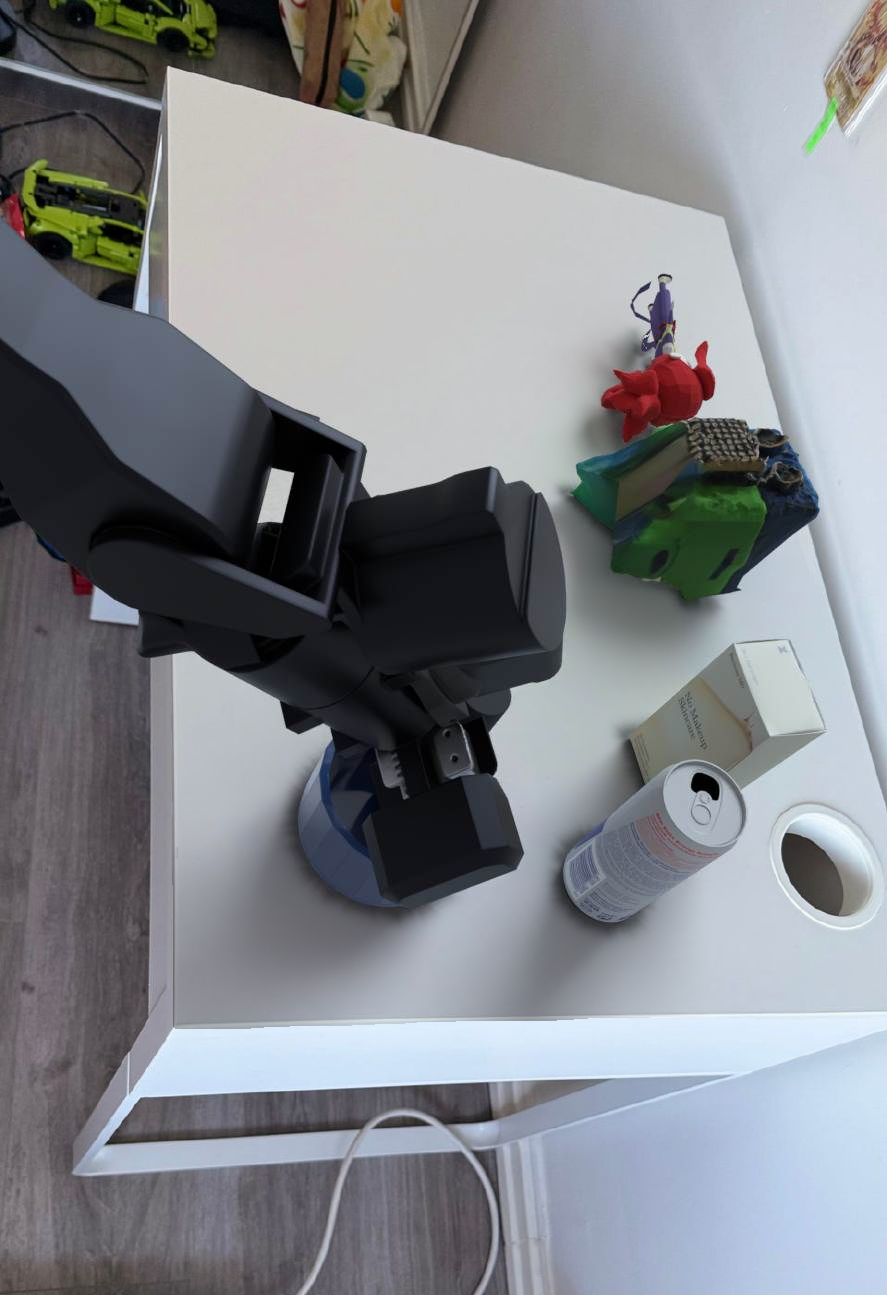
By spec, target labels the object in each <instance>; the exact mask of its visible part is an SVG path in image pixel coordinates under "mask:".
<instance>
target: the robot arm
mask: <svg viewBox="0 0 887 1295" xmlns="http://www.w3.org/2000/svg"><path fill="white" fill-rule="evenodd" d="M367 453H368V448H367V446H366V445H365V444H364V442H362V441H360V440H358V439H356V438H354V437H352V436H350V435H348V434H346V433H344V432H342V431H340V430H339V429H336V428H334V427H333V426H331V425H328V424H326V423H324V422H322V421H321V417H319V416H317V415H315V414H312V413H308V412H306V411H303V410H299V409H297V408H294V407H292V406H290V405H289V404H286V403H284V402H282V401H281V400H278V399H276V398H274V397H272V396H270V395H268V394H266V393H264V392H262V391H260V390H258V389H256V388H254V387H252V386H251V385H250V384H249V383H247V381H245V380H244V379H243V378H242V377H240V376H239V375H238V374H236V373H235V371H233V370H231V368H229V367H228V366H227V365H226V364H224V363H222V362H221V361H220V360H219V359H217V358H216V357H215V356H214V355H213V354H211V353H210V352H208V351H207V350H205V349H204V348H203V347H202V346H201V345H199V344H198V343H197V342H195V341H194V340H193V339H191V338H190V337H189V336H187V335H186V334H185V333H183V332H182V331H181V330H180V329H178V327H176V326H175V325H173V324H172V323H170V322H169V321H167V320H166V319H164V318H162V317H161V316H160V317H159V316H157V315H153V314H150V313H147V312H143V311H139V310H137V309H132V308H129V307H126V306H125V307H124V306H121V305H118V304H114V303H111V302H106V301H103V300H100V299H96V298H94V297H93V296H92V295H90V294H89V293H87V292H86V291H85V290H84V289H82V288H81V287H79V286H78V285H77V284H76V283H75V282H73V281H72V280H71V279H69V278H68V277H66V275H64V274H62V273H61V272H60V271H59V270H58V269H56V268H55V267H54V266H53V265H52V263H50V262H49V261H48V260H47V259H46V258H45V257H44V256H43V255H42V254H41V253H40V252H39V251H38V250H36V249H35V247H33V246H32V245H31V244H30V243H29V242H28V241H27V240H26V239H25V238H24V237H23V236H22V235H21V234H20V233H19V232H18V231H16V229H15V228H14V227H12V226H11V224H9V223H8V222H7V221H6V220H5V219H4V218H3V217H2V216H1V215H0V482H1V484H2V486H3V489H4V491H5V492H6V496H8V498H9V501H10V502H11V505H12V506H13V508H14V510H15V512H16V514H17V515H18V516H19V518H20V519H21V520H22V521H23V522H24V523H25V524H26V525H27V526H28V527H29V528H30V529H31V530H33V532H35V533H36V534H37V535H38V536H39V537H40V538H41V539H42V540H43V541H44V542H45V543H46V544H48V545H49V547H51V548H52V549H53V550H54V551H55V552H56V553H58V555H60V556H61V558H63V559H64V560H65V561H66V562H67V563H68V564H69V565H70V566H72V568H73V569H74V570H76V572H78V573H79V574H80V575H81V576H82V577H83V578H84V579H86V580H87V581H88V582H90V583H91V584H92V585H94V587H96V588H97V589H98V590H100V591H101V592H103V593H104V594H106V595H107V596H109V597H110V598H111V599H112V600H114V601H116V602H118V603H120V604H123V605H124V606H126V607H128V608H131V609H134V610H137V614H138V621H137V622H138V623H137V636H136V638H137V639H136V650H135V651H136V653H137V654H138V655H139V657H142V658H144V659H145V658H146V659H153V658H161V657H165V656H172V655H176V654H183V653H190V652H192V653H195V654H196V655H197V656H199V657H200V658H201V659H203V660H204V661H206V662H207V663H209V664H210V665H212V666H215V667H216V668H218V669H220V670H222V671H224V672H226V673H227V674H230V675H231V676H234V677H235V678H237V679H239V680H241V681H243V682H245V683H247V684H249V685H251V686H252V687H254V688H255V689H258V690H259V691H262V692H263V693H265V694H267V695H269V696H270V697H272V698H274V699H276V700H278V701H279V704H280V710H281V713H282V714H281V715H282V718H283V723H284V726H285V729H286V730H289V731H290V732H293V733H294V734H297V735H302V734H303V733H307V732H308V731H310V730H313V729H315V728H316V727H319V726H322V725H325V726H326V727H329V730H330V734H331V738H332V739H333V742H334V746H335V750H336V753H337V754H339V755H341V756H343V757H345V758H347V759H348V758H350V757H352V756H355V755H357V754H359V753H361V752H364V751H366V750H368V749H371V748H375V752H376V756H377V760H378V761H377V762H375V763H373V764H370V770H371V774H372V778H373V781H374V785H375V789H376V793H377V797H378V801H379V805H380V808H381V809H380V810H377V811H375V812H373V813H370V815H369V816H368V817H367V819H366V820H365V822H364V823H363V825H362V826H363V830H364V834H365V838H366V842H367V846H368V850H369V854H370V858H371V862H372V866H373V870H374V874H375V878H376V882H377V885H378V889H379V893H380V896H381V897H383V898H385V899H387V900H389V901H391V902H393V903H394V904H396V905H400V906H399V907H403V908H407V909H411V910H415V909H417V908H420V907H423V906H425V905H428V904H431V903H433V902H436V901H438V900H441V899H443V898H446V897H449V896H451V895H454V894H456V893H460V892H462V891H465V890H468V889H470V888H473V887H475V886H478V885H480V884H483V883H486V882H489V881H491V880H493V879H496V878H498V877H499V878H500V877H502V876H504V875H507V874H510V873H512V872H514V871H517V870H518V868H519V865H520V864H521V862H522V859H523V857H524V855H525V850H524V847H523V844H522V841H521V837H520V834H519V831H518V827H517V824H516V821H515V818H514V815H513V811H512V808H511V805H510V801H509V798H508V797H507V795H506V793H505V790H504V789H503V788H502V786H501V784H500V782H499V781H498V779H497V778H496V777H494V775H496V773H497V771H498V765H499V763H498V759H497V756H496V755H497V754H496V751H495V748H494V746H493V742H492V739H491V736H490V732H488V729H487V726H486V722H485V719H484V716H481V717H479V718H476V719H474V720H472V721H469V722H467V723H465V724H462V725H461V724H460V723H459V722H458V721H460V720H462V719H464V718H467V717H469V713H468V709H467V706H466V703H465V701H466V700H469V699H471V698H473V697H481V696H485V695H489V694H492V693H496V692H499V691H503V690H507V689H510V690H511V689H513V688H517V687H521V686H524V685H528V684H538V683H542V682H546V681H548V680H550V679H552V678H553V677H555V676H556V675H557V674H558V673H559V671H560V669H561V668H562V665H563V650H564V649H563V648H564V633H565V628H566V624H567V623H566V622H567V621H566V620H567V584H566V573H565V566H564V558H563V552H562V548H561V543H560V539H559V535H558V531H557V528H556V524H555V521H554V518H553V514H552V512H551V509H550V507H549V504H548V503H547V500H546V498H545V496H544V494H543V492H542V491H539V492H535V490H534V489H533V488H532V487H531V485H530V484H529V483H527V482H525V481H524V480H522V479H521V480H516V481H511V482H507V483H506V482H505V479H504V478H503V476H502V473H501V472H500V469H498V468H496V467H494V466H491V465H488V466H484V467H479V468H475V469H471V470H466V471H462V472H459V473H455V474H453V475H451V476H448V477H446V478H445V479H442V480H440V481H437V482H433V483H430V484H425V485H421V486H417V487H412V488H407V489H403V490H398V491H394V492H389V493H386V494H385V493H384V494H376V495H373V496H371V495H370V493H369V492H368V490H367V489H366V487H365V486H364V484H363V482H362V477H363V472H364V467H365V463H366V458H367ZM272 469H274V470H279V471H284V472H289V473H292V474H293V475H292V481H291V483H290V484H291V485H290V489H289V492H288V497H287V501H286V505H285V510H284V514H283V518H282V522H280V521H279V522H278V521H265V522H259V519H260V516H261V512H262V508H263V504H264V500H265V497H266V492H267V488H268V484H269V480H270V476H271V472H272ZM395 751H396V752H395Z"/></svg>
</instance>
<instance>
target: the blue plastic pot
mask: <svg viewBox="0 0 887 1295" xmlns="http://www.w3.org/2000/svg"><path fill="white" fill-rule="evenodd" d="M395 752H396V751H395ZM377 761H378V760H377V756H376V752H375V748H371V749H368V750H366V751H364V752H361V753H359V754H357V755H355V756H352V757H350V758H348V759H347V758H345V757H343V756H341V755H339V754H337V753H336V750H335V746H334V742H333V738H332V739H331V740H330V742H329V743H328V744H327V746H326V747H325V749H324V751H323V753H322V754H321V757H320V759H319V760H318V762H317V764H316V766H315V767H314V769H313V772H312V774H311V775H310V776H309V777H310V778H309V779H308V780H307V783H306V785H305V786H304V790H303V793H302V796H301V799H300V801H299V806H298V811H297V829H298V837H299V840H300V844H301V847H302V850H303V852H304V854H305V857H306V858H307V860H308V862H309V864H310V865H311V867H312V868H313V869H314V871H315V872H316V873H317V875H318V876H319V877H320V878H321V879H322V881H324V882H325V883H326V884H327V885H329V886H330V887H331V889H333V890H334V891H337V892H338V893H339V894H340V895H342V896H345V897H347V898H348V899H350V900H352V901H354V902H358V903H360V904H363V905H367V906H372V907H381V908H396V907H401V906H400V905H396V904H394V903H393V902H391V901H389V900H387V899H385V898H383V897H381V896H380V893H379V889H378V885H377V882H376V878H375V874H374V870H373V866H372V862H371V858H370V854H369V850H368V846H367V842H366V838H365V834H364V830H363V826H362V825H363V823H364V822H365V820H366V819H367V817H368V816H369V815H370V813H373V812H375V811H377V810H380V809H381V808H380V805H379V801H378V797H377V793H376V789H375V785H374V781H373V778H372V774H371V770H370V764H373V763H375V762H377Z"/></svg>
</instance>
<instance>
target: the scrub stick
mask: <svg viewBox="0 0 887 1295" xmlns="http://www.w3.org/2000/svg"><path fill="white" fill-rule="evenodd" d="M465 703H466V706H467V709H468V713H469V717H467V718H464V719H462V720H460V721H458V722H459V723H460V724H461V725H462V724H465V723H467V722H469V721H472V720H474V719H476V718H479V717H481V716H484V719H485V722H486V726H487V729H488V732H489V733H490V732H491V731H492V729H493V728H494V727H495V726H496V725H497V723H498V722H499V721H500V720H501V719H502V717H503V716H504V715H505V713H506V712H507V711H508V709H509V708H510V706H511V704H512V691H511V688H510V689H507V690H503V691H499V692H496V693H492V694H489V695H485V696H481V697H473V698H471V699H469V700H466V701H465Z"/></svg>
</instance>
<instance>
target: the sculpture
mask: <svg viewBox="0 0 887 1295" xmlns="http://www.w3.org/2000/svg"><path fill="white" fill-rule="evenodd" d="M789 439H790V436H789V435H787V434H782V432H781V431H780V430H778V429H776V428H762V427H757V428H750V427H749V424H748V420H745V419H741V418H739V419H736V418H734V417H729V418H727V417H724V418H722V417H717V418H715V417H705V418H703V417H696V416H694V417H693V418H691V419H688V420H684V419H683V420H681V421H679V422H677V423H675V424H670V425H668V426H660V427H658V428H655V429H654V430H652V432H651V433H649V434H648V435H647V436H646V437H644V438H641V439H639V440H637V441H636V442H633V443H631V444H629V445H627V446H625V447H623V448H621V449H619V450H617V451H615V452H613V453H607V454H602V455H597V456H593V457H590V458H588V459H586V460H583V461H580V462H577V463H575V469H576V475H577V476H578V478H579V480H580V481H581V482H580V483H579V484H578V485H577V487H575V489H574V490H571V491H570V492H569V494H570V495H572V496H573V497H575V498H576V500H577V501H579V503H580V504H581V505H582V506H583V507H584V508H585V509H586V510H587V511H588V512H589V513H590V514H591V515H592V516H593V517H594V518H595V519H596V520H597V521H598V522H600V523H601V524H603V525H604V526H605V527H606V528H608V529H609V530H611V531H612V532H613V538H612V547H611V558H610V564H609V570H610V571H612V573H614V575H627V576H629V577H633V578H635V579H638V580H642V581H645V582H651V581H654V582H657V583H661V582H662V583H663V582H666V583H667V584H668V585H669V586H670V587H671V588H674V589H676V590H678V591H679V593H680V594H681V596H682V597H683V598H684V600H686V601H687V602H688V601H691V600H695V599H701V598H707V597H714V596H721V595H728V594H731V593H736V592H740V591H742V589H741V588H739V587H738V586H739V585H740V583H741V581H742V579H743V578H744V577H745V575H747V574H748V573H749V572H751V570H753V569H754V568H755V567H756V566H757V565H759V564H760V563H761V562H763V560H764V559H766V558H767V557H768V556H769V555H771V553H773V552H774V551H775V550H777V549H778V548H779V547H780V546H781V545H783V544H784V543H785V542H786V541H788V539H789V538H791V537H792V536H793V535H794V534H796V533H797V532H799V531H800V530H802V529H803V528H805V526H807V525H808V524H810V523H811V522H813V521H814V520H815V519H817V517H818V515H819V513H820V510H821V509H820V507H819V501H820V498H819V494H818V492H817V491H816V489H815V488H814V485H813V483H812V481H811V479H810V478H809V477H808V475H807V473H806V469H805V468H804V467H803V465H802V464H801V462H800V459H799V456H800V454H799V453H798V452H796V451H795V450H794V448H793V446H792V445H791V443H790V441H789Z"/></svg>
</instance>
